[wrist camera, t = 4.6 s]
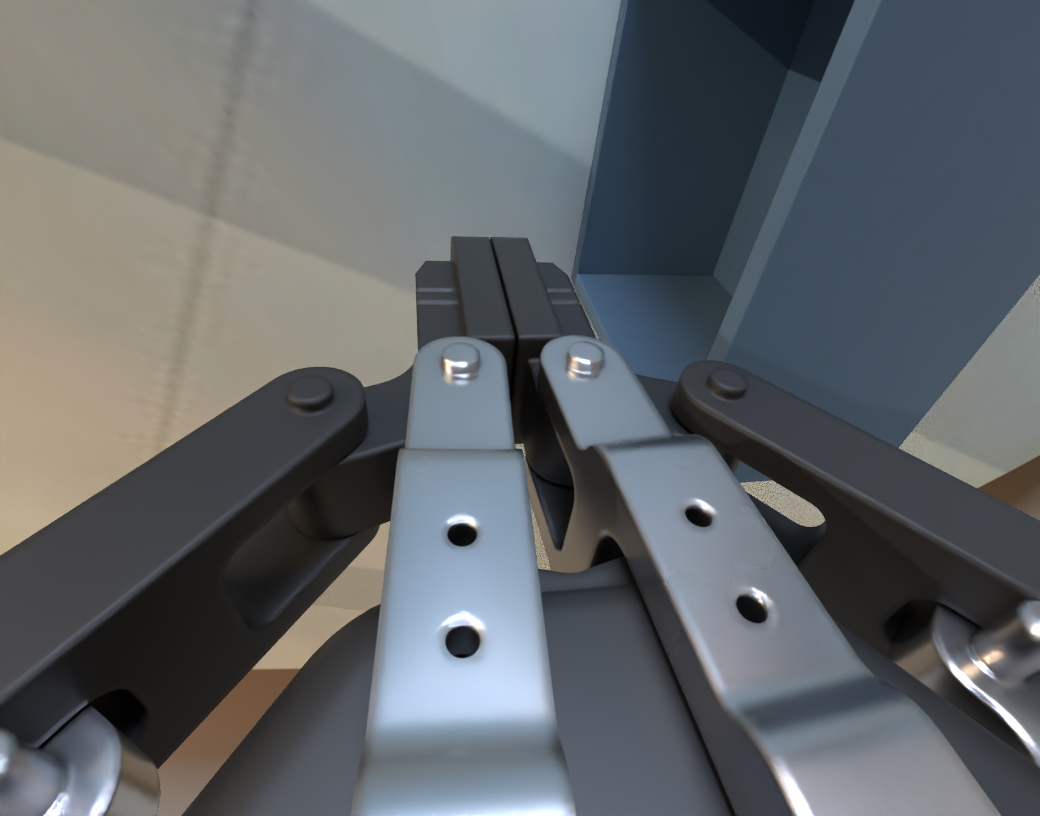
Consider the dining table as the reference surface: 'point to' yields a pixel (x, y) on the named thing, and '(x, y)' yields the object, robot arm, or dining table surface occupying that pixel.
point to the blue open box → (815, 194)
